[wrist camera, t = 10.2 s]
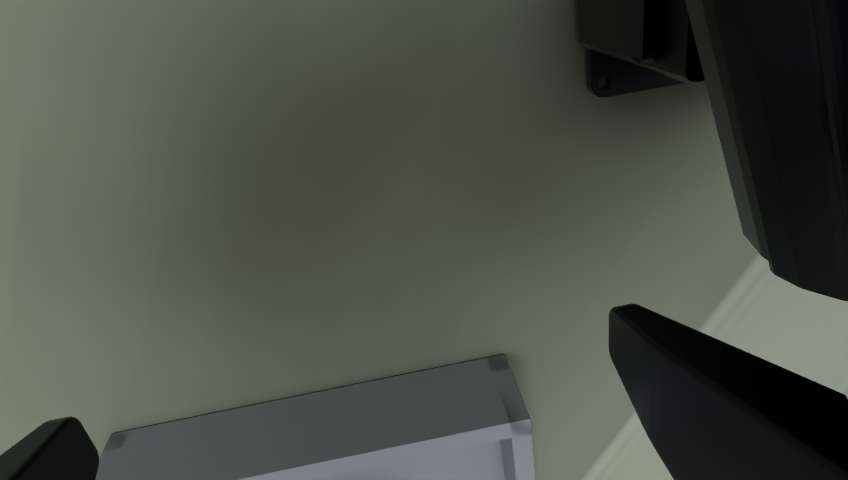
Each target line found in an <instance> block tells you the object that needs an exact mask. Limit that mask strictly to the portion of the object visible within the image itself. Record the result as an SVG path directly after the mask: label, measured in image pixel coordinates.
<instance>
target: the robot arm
mask: <svg viewBox="0 0 848 480" xmlns="http://www.w3.org/2000/svg"><path fill="white" fill-rule="evenodd" d="M578 11H579V42H580V43H581V44H582V45H583V46H585V47H586V77H587V88H588V90H589V91H590V92H591V93H592V94H594V95H596V96H598V97H609V96H615V95H620V94H626V93H631V92H637V91H642V90H647V89H653V88H658V87H664V86H669V85H675V84H680V83H688V84H691V85H694V86H697V87H700V88H703V89H706V90H708V94H709V98H710V102H711V106H712V110H713V114H714V118H715V122H716V126H717V130H718V134H719V138H720V142H721V146H722V150H723V154H724V158H725V162H726V166H727V170H728V174H729V178H730V182H731V186H732V190H733V194H734V198H735V202H736V206H737V210H738V214H739V218H740V222H741V226H742V230H743V234H744V235H745V236H746V237H747V239H748V240H749V241H750V242H751V244H752V245H753V246H754V247H755V248H756V250H757V251H758V252H759V253H760V255H761V256H762V257H764V258H765V259H767V260H768V261H769V266H770V270H771V271H772V272H773V273H774V275H776V276H778V277H780V278H782V279H784V280H786V281H788V282H790V283H792V284H794V285H796V286H798V287H800V288H802V289H805V290H809V291H812V292H816V293H819V294H823V295H826V296H829V297H833V298H836V299H840V300H844V301H848V0H578ZM603 76H606V77H607V83H606V85H605V86H604V87H602V88H599V87H598V81H599V79H600V78H601V77H603ZM609 352H610V356H611V359H612V361H613V363H614V365H615V368H616V370H617V372H618V374H619V376H620V378H621V380H622V383H623V385H624V387H625V389H626V391H627V393H628V395H629V397H630V400H631V402H632V404H633V406H634V408H635V410H636V412H637V415H638V417H639V419H640V421H641V423H642V425H643V427H644V429H645V431H646V433H647V435H648V437H649V439H650V441H651V442H652V444H653V446H654V448H655V449H656V451H657V453H658V454H659V456H660V457H661V459H662V461H663V462H664V464H665V466H666V467H667V469H668V471H669V472H670V474H671V475H672V477H673V479H674V480H848V399H847V397H846V396H845V395H844V394H842V393H839V392H837V391H835V390H833V389H830V388H828V387H826V386H823V385H821V384H819V383H816V382H814V381H812V380H810V379H807V378H805V377H803V376H800V375H798V374H796V373H793V372H791V371H789V370H787V369H784V368H782V367H780V366H777V365H775V364H773V363H771V362H768V361H766V360H764V359H761V358H759V357H757V356H754V355H752V354H750V353H748V352H745V351H743V350H741V349H738V348H736V347H734V346H731V345H729V344H727V343H725V342H722V341H720V340H718V339H715V338H713V337H711V336H708V335H706V334H704V333H702V332H699V331H697V330H695V329H692V328H690V327H688V326H685V325H683V324H681V323H679V322H676V321H674V320H672V319H669V318H667V317H665V316H662V315H660V314H658V313H656V312H653V311H651V310H649V309H646V308H644V307H642V306H640V305H637V304H627V305H622V306H617V307H613V308H612V309H611V310H610V313H609ZM98 467H99V455H98V452H97V449H96V447H95V446H94V444H93V442H92V441H91V439H90V437H89V436H88V434H87V432H86V431H85V429H84V427H83V426H82V424H81V422H80V421H79V420H78V419H77V418H75V417H65V418H60V419H55V420H50V421H47V422H45V423H43V424H42V425H41V426H39V427H38V428H37V429H35V430H34V431H33V432H31V433H30V434H28V435H27V436H26V437H24V438H23V439H22V440H20V441H19V442H18V443H16V444H15V445H14V446H12V447H11V448H10V449H8V450H7V451H6V452H4V453H3V454H2V455H0V480H95V479H96V475H97V471H98Z"/></svg>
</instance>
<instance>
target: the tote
mask: <svg viewBox="0 0 848 480" xmlns="http://www.w3.org/2000/svg"><path fill="white" fill-rule="evenodd" d="M95 480H535V469H534V457H533V445H532V433H531V422H530V417H529V414H528V412H527V409H526V407H525V405H524V402H523V400H522V397H521V395H520V392H519V390H518V387H517V385H516V382H515V380H514V377H513V375H512V372H511V370H510V368H509V365H508V363H507V360H506V358H505V355H504V354H502V355H497V356H492V357H487V358H482V359H478V360H473V361H468V362H463V363H458V364H453V365H448V366H443V367H438V368H433V369H428V370H423V371H418V372H413V373H409V374H404V375H399V376H394V377H389V378H384V379H379V380H374V381H369V382H364V383H359V384H354V385H349V386H344V387H340V388H335V389H330V390H325V391H320V392H315V393H310V394H305V395H300V396H295V397H290V398H285V399H280V400H276V401H271V402H266V403H261V404H256V405H251V406H246V407H241V408H236V409H231V410H226V411H221V412H216V413H211V414H207V415H202V416H197V417H192V418H187V419H182V420H177V421H172V422H167V423H162V424H157V425H152V426H147V427H142V428H138V429H133V430H128V431H123V432H118V433H113V434H112V435H111V437H110V439H109V441H108V442H107V444H106V446H105V448H104V450H103V452H102V454H101V456H100V458H99V467H98V471H97V475H96V479H95Z"/></svg>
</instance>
